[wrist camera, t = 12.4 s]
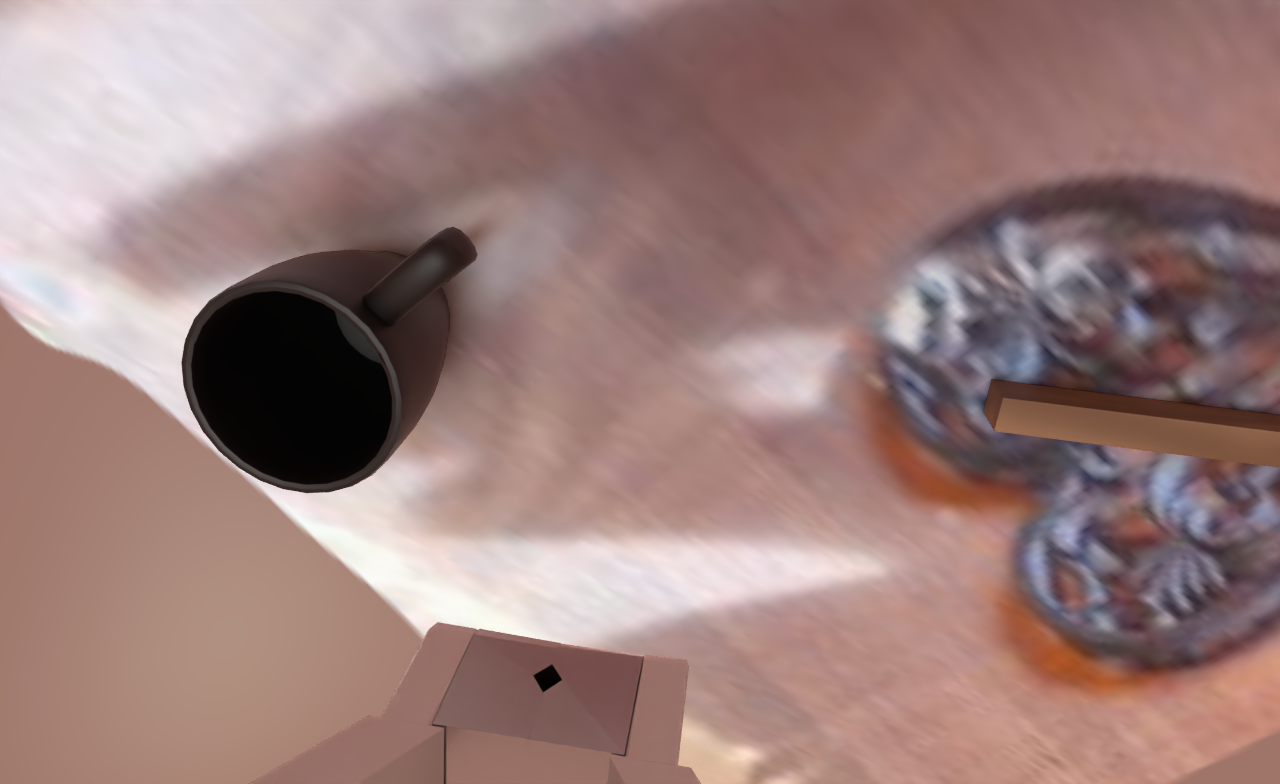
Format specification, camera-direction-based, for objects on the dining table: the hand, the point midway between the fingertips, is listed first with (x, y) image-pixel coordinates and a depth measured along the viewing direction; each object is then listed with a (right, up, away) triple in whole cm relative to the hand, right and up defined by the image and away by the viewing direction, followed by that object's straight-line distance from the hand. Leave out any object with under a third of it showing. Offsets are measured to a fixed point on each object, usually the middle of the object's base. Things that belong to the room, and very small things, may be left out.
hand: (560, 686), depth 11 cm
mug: (-9, +8, +30) cm, 32 cm away
